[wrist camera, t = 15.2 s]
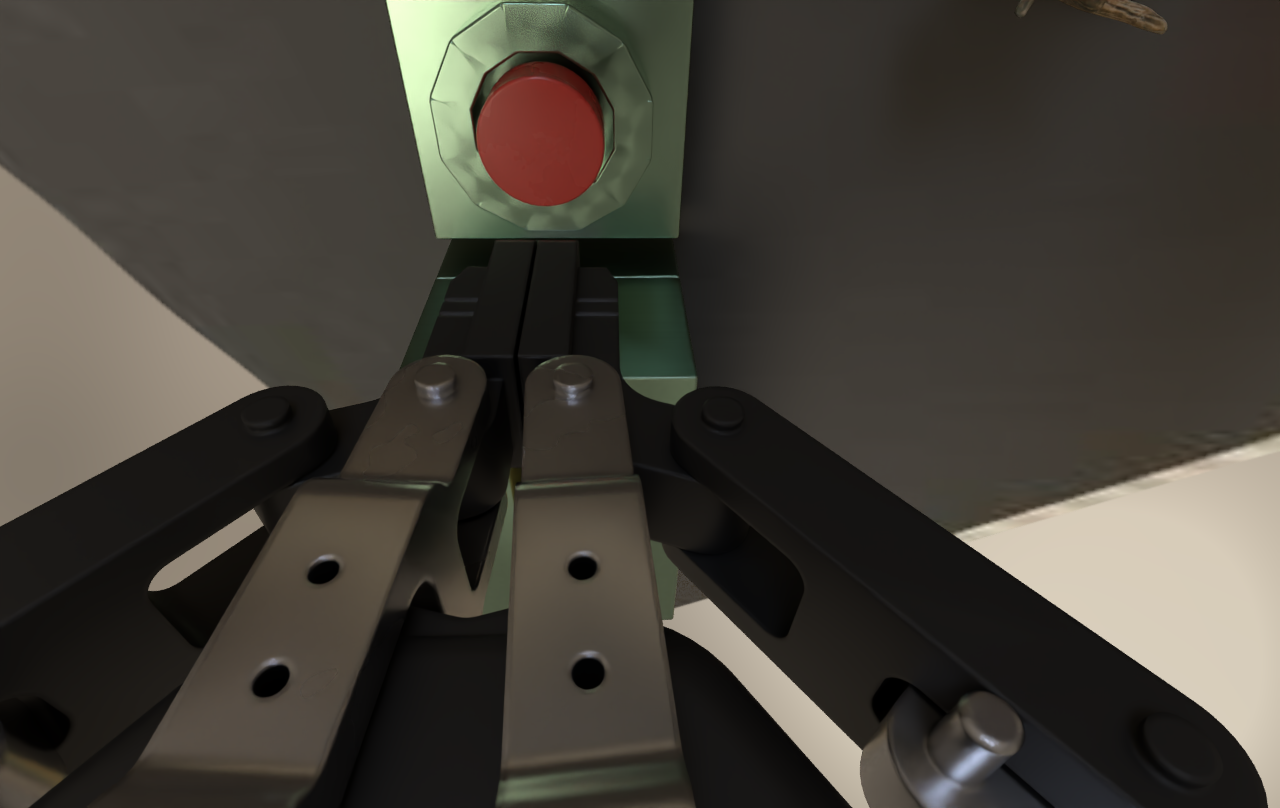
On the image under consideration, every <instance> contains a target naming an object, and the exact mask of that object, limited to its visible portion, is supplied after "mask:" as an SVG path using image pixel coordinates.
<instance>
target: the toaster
mask: <svg viewBox="0 0 1280 808" xmlns="http://www.w3.org/2000/svg"><path fill="white" fill-rule="evenodd" d="M495 240H536V241H537V245H538V241H539V240H578V243H579V260H580V267H606V268H607V269H608V270H609V271H610V273H611V274H612V275H613V276H614V278H615V279H616V280H617V282H618V305H619V350H620V371H621V374H622V377H623V378H624V380H625V382H626V383H627V384H628V385H629V386H630V387H631V388H632V389H634V390H635V391H636V392H638V393H640V394H641V395H643V396H645V397H648V398H650V399H653V400H656V401H660V402H664V403H668V404H673V405H675V404H676V403H677V401H678V400H679V399H680V398H681V397H683V396H684V395H685V394H687V393H689V392H691V391H693V390H696V389H697V380H698V376H697V371H696V365H695V360H694V354H693V349H692V343H691V338H690V332H689V327H688V321H687V316H686V310H685V305H684V299H683V294H682V288H681V283H680V279H679V272H678V266H677V261H676V255H675V250H674V244H673V239H672V238H576V239H452V240H451V243H450V245H449V248H448V250H447V253H446V255H445V258H444V260H443V263H442V265H441V268H440V270H439V273H438V275H437V278H436V280H435V282H434V285H433V287H432V290H431V292H430V295H429V297H428V300H427V302H426V305H425V307H424V310H423V312H422V315H421V317H420V320H419V322H418V325H417V327H416V330H415V332H414V335H413V337H412V340H411V342H410V345H409V347H408V350H407V352H406V355H405V357H404V360H403V362H402V365H401V367H400V369H402V368H403V367H404V366H406V365H408V364H410V363H412V362H414V361H416V360H419V359H422V358H423V355H424V352H425V350H426V347H427V344H428V341H429V339H430V336H431V333H432V330H433V328H434V325H435V322H436V319H437V317H438V316H439V311H440V309H441V306H442V303H443V302H444V298H445V295H446V292H447V289H448V287H449V284H450V281H451V280H452V279H454V278H455V277H456V276H457V275H458V274H459V273H461V272H462V271H463V270H464V269H465V268H466V267H467V266H477V267H487V266H488V263H489V259H490V256H491V253H492V249H493V246H494V242H495ZM521 476H522V467H521V468H511V469H510V475H509V481H508V486H507V490H506V492H507V498H508V507H507V512H506V516H505V520H504V524H503V528H502V532H501V536H500V540H499V544H498V548H497V552H496V556H495V560H494V564H493V568H492V572H491V576H490V580H489V584H488V588H487V592H486V596H485V601H484V606H483V614H482V615H484V614H488V613H492V612H496V611H500V610H504V609H507V608H509V592H510V572H511V551H512V530H513V510H514V493H515V486H516V483H517V482H521ZM650 542H651V549H652V555H653V562H654V569H655V575H656V582H657V589H658V595H659V602H660V608H661V615H662V620H671V619H673V615H674V605H675V595H676V585H677V576H678V568H677V567H676V566H675V565H674V564H673V563H672V562H671V560H670V559H669V558H668V557H667V555H666V554H665V552H664V549H663V547H662V543H659V542H656V541H652V540H650Z"/></svg>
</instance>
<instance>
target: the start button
mask: <svg viewBox="0 0 1280 808" xmlns="http://www.w3.org/2000/svg"><path fill="white" fill-rule="evenodd" d="M476 139H477V147H478V152H479V155H480V158H481V161H482V163H483V165H484V167H485V169H486V171H487V173H488V174H489V176H490V177H491V178H492V180H493V181H494V182H495V183H496V184H497V185H498V186H499V187H500V188H501V189H502V190H503V191H505V192H506V193H507V194H509V195H510V196H512V197H514V198H515V199H517V200H520V201H522V202H524V203H528V204H531V205H536V206H556V205H561V204H564V203H567V202H570V201H572V200H574V199H576V198H577V197H579V196H580V195H582V194H583V193H584V192H585V191H586V190H587V189H588V188H589V187H590V186H591V185H592V184H593V182H594V181H595V179H596V178H597V176H598V174H599V172H600V169H601V166H602V163H603V158H604V149H605V127H604V118H603V113H602V109H601V106H600V103H599V101H598V99H597V97H596V95H595V94H594V92H593V91H592V89H591V88H590V87H589V85H588V84H587V83H586V82H585V81H584V80H583V79H582V78H581V77H580V76H579V75H577V74H576V73H574V72H573V71H572V70H570V69H568V68H566V67H564V66H561V65H559V64H556V63H551V62H545V61H533V62H527V63H523V64H520V65H518V66H515V67H514V68H512V69H510V70H508V71H507V72H506V73H505V74H503V75H502V76H501V77H500V78H499V79H498V81H497V82H496V83H495V85H494V86H493V88H492V90H491V92H490V94H489V96H488V98H487V100H486V102H485V104H484V106H483V108H482V110H481V112H480V115H479V118H478V123H477V131H476Z"/></svg>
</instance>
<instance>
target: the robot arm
mask: <svg viewBox="0 0 1280 808" xmlns="http://www.w3.org/2000/svg"><path fill="white" fill-rule="evenodd" d="M521 467H522V476H521V482H517V483H516V486H515V493H514V510H513V530H512V551H511V572H510V592H509V608H507V609H504V610H500V611H496V612H492V613H488V614H484V615H482V614H483V606H484V601H485V596H486V592H487V588H488V584H489V580H490V576H491V572H492V568H493V564H494V560H495V556H496V552H497V548H498V544H499V540H500V536H501V532H502V528H503V524H504V520H505V516H506V512H507V507H508V498H507V492H506V490H507V486H508V481H509V475H510V469H511V468H521ZM253 508H254V510H255V511H256V513H257V515H258V516H259V518H260V520H261V521H262V523H263V525H264V526H262V527H261V528H259V529H258V530H256V531H255V532H253V533H252V534H250V535H249V536H247V537H246V538H244V539H243V540H241V541H240V542H239V543H237V544H236V545H234V546H233V547H231V548H230V549H228V550H227V551H225V552H224V553H222V554H221V555H219V556H218V557H216V558H215V559H214V560H212V561H210V562H209V563H207V564H206V565H204V566H203V567H201V568H200V569H198V570H197V571H196V572H194V573H193V574H191V575H190V576H188V577H187V578H185V579H184V580H182V581H181V582H179V583H177V584H176V585H174V586H172V587H170V588H167V589H164V590H160V591H148V588H149V585H150V583H151V581H152V579H153V578H154V576H155V575H156V574H157V573H158V572H159V571H160V570H161V569H162V568H163V567H164V566H166V565H167V564H169V563H170V562H172V561H173V560H175V559H176V558H178V557H179V556H181V555H182V554H184V553H185V552H186V551H188V550H190V549H191V548H193V547H195V546H196V545H198V544H199V543H201V542H202V541H204V540H205V539H207V538H208V537H210V536H212V535H213V534H214V533H216V532H218V531H219V530H221V529H222V528H224V527H225V526H227V525H228V524H230V523H232V522H233V521H234V520H236V519H238V518H239V517H241V516H242V515H244V514H245V513H247V512H248V511H250V510H252V509H253ZM650 540H652V541H656V542H659V543H662V547H663V549H664V552H665V554H666V555H667V557H668V558H669V559H670V560H671V562H672V563H673V564H674V565H675V566H676V567H677V568H678V569H679V570H680V571H681V572H682V573H683V574H684V575H685V576H686V577H687V578H688V579H689V580H690V581H691V582H693V583H694V584H695V585H696V586H697V587H698V588H699V589H700V590H701V591H702V592H703V593H704V594H705V595H706V596H707V597H708V598H709V599H710V600H711V601H712V602H713V603H714V604H715V605H716V606H717V607H718V608H719V609H720V610H721V611H722V612H723V613H724V614H725V615H726V616H727V617H728V618H729V619H730V620H731V621H732V622H733V623H734V624H735V625H736V626H737V627H738V628H739V629H740V630H741V631H742V632H743V633H744V634H745V635H746V636H747V637H748V638H749V639H750V640H751V641H752V642H753V643H754V644H755V645H756V646H757V647H758V648H759V649H760V650H761V651H763V652H764V653H765V655H767V656H768V657H769V658H770V660H772V661H773V662H774V663H775V664H776V665H777V666H778V667H779V668H780V669H781V670H782V671H783V672H784V673H785V674H786V675H787V676H788V677H789V678H790V679H791V680H792V681H793V682H794V683H795V684H796V685H797V686H798V687H799V688H800V689H801V690H802V691H803V692H804V693H805V694H806V695H807V696H808V697H809V698H810V699H811V700H812V701H813V702H814V703H815V704H816V705H817V706H818V707H819V708H820V709H821V710H822V711H824V713H825V714H826V715H827V716H828V717H829V718H830V719H831V720H832V721H833V722H834V723H835V724H836V725H837V726H838V727H839V728H840V729H841V730H842V731H843V732H844V733H846V735H847V736H849V738H850V739H851V740H853V741H854V742H855V743H856V744H857V745H858V746H859V747H860V748H861V749H862V750H863V752H862V756H861V761H860V777H861V784H862V787H863V791H864V795H865V798H866V800H867V803H868V805H869V807H870V808H1268V805H1267V797H1266V792H1265V789H1264V786H1263V783H1262V780H1261V778H1260V776H1259V774H1258V772H1257V770H1256V768H1255V766H1254V764H1253V763H1252V761H1251V759H1250V758H1249V756H1248V755H1247V753H1246V751H1245V750H1244V749H1243V748H1242V746H1241V745H1240V744H1239V743H1238V741H1237V740H1236V739H1235V737H1234V736H1232V734H1231V733H1230V732H1229V731H1228V730H1227V729H1226V728H1225V727H1224V726H1223V725H1222V724H1221V723H1220V722H1219V721H1218V720H1217V719H1215V718H1214V717H1213V716H1212V715H1211V714H1210V713H1209V712H1207V711H1206V710H1205V709H1204V708H1202V707H1201V706H1199V705H1198V704H1197V703H1196V702H1194V701H1193V700H1191V699H1190V698H1188V697H1187V696H1185V695H1184V694H1183V693H1181V692H1180V691H1178V690H1177V689H1175V688H1174V687H1172V686H1171V685H1170V684H1168V683H1167V682H1165V681H1164V680H1162V679H1161V678H1159V677H1158V676H1157V675H1155V674H1154V673H1152V672H1151V671H1149V670H1148V669H1146V668H1145V667H1144V666H1142V665H1141V664H1139V663H1138V662H1136V661H1135V660H1133V659H1132V658H1130V657H1129V656H1127V655H1126V654H1125V653H1123V652H1122V651H1120V650H1119V649H1118V648H1116V647H1115V646H1113V645H1112V644H1110V643H1109V642H1107V641H1106V640H1105V639H1103V638H1102V637H1100V636H1099V635H1097V634H1096V633H1094V632H1093V631H1092V630H1090V629H1089V628H1087V627H1086V626H1084V625H1083V624H1081V623H1080V622H1078V621H1077V620H1076V619H1074V618H1073V617H1071V616H1070V615H1068V614H1067V613H1065V612H1064V611H1063V610H1061V609H1060V608H1058V607H1057V606H1055V605H1054V604H1052V603H1051V602H1049V601H1048V600H1047V599H1045V598H1044V597H1042V596H1041V595H1039V594H1038V593H1037V592H1035V591H1034V590H1032V589H1031V588H1029V587H1028V586H1026V585H1025V584H1024V583H1022V582H1021V581H1019V580H1018V579H1016V578H1015V577H1013V576H1012V575H1011V574H1009V573H1008V572H1006V571H1005V570H1003V569H1002V568H1000V567H999V566H997V565H996V564H995V563H993V562H992V561H990V560H989V559H987V558H986V557H985V556H983V555H982V554H980V553H979V552H977V551H976V550H974V549H973V548H972V547H970V546H969V545H967V544H966V543H964V542H963V541H961V540H960V539H959V538H957V537H956V536H954V535H953V534H951V533H950V532H948V531H947V530H946V529H944V528H943V527H941V526H940V525H938V524H937V523H935V522H934V521H933V520H931V519H930V518H928V517H927V516H925V515H924V514H922V513H921V512H920V511H918V510H917V509H915V508H914V507H912V506H911V505H909V504H908V503H906V502H905V501H904V500H902V499H901V498H899V497H898V496H896V495H895V494H893V493H892V492H891V491H889V490H888V489H886V488H885V487H883V486H882V485H880V484H879V483H878V482H876V481H875V480H873V479H872V478H870V477H869V476H867V475H866V474H865V473H863V472H862V471H860V470H859V469H857V468H856V467H854V466H853V465H852V464H850V463H849V462H847V461H846V460H844V459H843V458H841V457H840V456H839V455H837V454H836V453H834V452H833V451H831V450H830V449H828V448H827V447H826V446H824V445H823V444H821V443H820V442H818V441H817V440H815V439H814V438H813V437H811V436H810V435H808V434H807V433H805V432H804V431H802V430H801V429H800V428H798V427H797V426H795V425H794V424H792V423H791V422H789V421H788V420H787V419H785V418H784V417H782V416H781V415H779V414H778V413H776V412H775V411H774V410H772V409H771V408H769V407H768V406H766V405H765V404H763V403H762V402H760V401H759V400H758V399H756V398H755V397H753V396H751V395H749V394H747V393H745V392H743V391H740V390H737V389H733V388H728V387H718V386H717V387H705V388H700V389H696V390H693V391H691V392H689V393H687V394H685V395H684V396H683V397H681V398H680V399H679V400H678V401H677V403H676V404H675V405H673V404H668V403H664V402H660V401H656V400H653V399H650V398H648V397H645V396H643V395H641V394H640V393H638V392H636V391H635V390H634V389H632V388H631V387H630V386H629V385H628V384H627V383H626V382H625V380H624V378H623V377H622V374H621V371H620V350H619V305H618V282H617V280H616V279H615V278H614V276H613V275H612V274H611V273H610V271H609V270H608V269H607V268H606V267H580V260H579V243H578V240H539V241H538V245H537V241H536V240H495V242H494V246H493V249H492V253H491V256H490V259H489V263H488V266H487V267H477V266H467V267H466V268H465V269H464V270H463V271H462V272H461V273H459V274H458V275H457V276H456V277H455V278H454V279H452V280H451V281H450V284H449V287H448V289H447V292H446V295H445V298H444V302H443V303H442V306H441V309H440V311H439V316H438V317H437V319H436V322H435V325H434V328H433V330H432V333H431V336H430V339H429V341H428V344H427V347H426V350H425V352H424V355H423V358H422V359H419V360H416V361H414V362H412V363H410V364H408V365H406V366H404V367H403V368H402V369H400V370H399V371H398V372H397V373H396V374H395V375H394V376H393V377H392V378H391V380H390V381H389V383H388V385H387V387H386V389H385V390H384V392H383V394H382V396H381V398H379V399H376V400H373V401H369V402H366V403H361V404H356V405H352V406H347V407H343V408H338V409H333V410H328V408H327V405H326V403H325V401H324V399H323V398H322V396H321V395H320V394H318V393H317V392H315V391H314V390H312V389H309V388H305V387H300V386H279V387H273V388H268V389H264V390H261V391H258V392H255V393H252V394H250V395H248V396H246V397H244V398H241V399H240V400H238V401H236V402H234V403H232V404H230V405H228V406H226V407H225V408H223V409H221V410H219V411H217V412H215V413H213V414H212V415H209V416H208V417H206V418H204V419H202V420H200V421H198V422H196V423H195V424H193V425H191V426H189V427H187V428H185V429H183V430H181V431H179V432H178V433H176V434H174V435H172V436H170V437H168V438H166V439H165V440H162V441H161V442H159V443H157V444H155V445H153V446H151V447H149V448H147V449H146V450H144V451H142V452H140V453H138V454H136V455H134V456H132V457H131V458H129V459H127V460H125V461H123V462H121V463H119V464H118V465H115V466H114V467H112V468H110V469H108V470H106V471H104V472H102V473H101V474H98V475H97V476H95V477H93V478H91V479H89V480H87V481H85V482H83V483H82V484H80V485H78V486H76V487H74V488H72V489H70V490H68V491H67V492H65V493H63V494H61V495H59V496H57V497H55V498H53V499H51V500H50V501H48V502H46V503H44V504H42V505H40V506H38V507H36V508H35V509H33V510H31V511H29V512H27V513H25V514H23V515H21V516H19V517H18V518H16V519H14V520H12V521H10V522H8V523H6V524H4V525H2V526H1V527H0V808H852V807H851V806H850V805H849V804H848V803H847V801H846V800H845V799H844V798H843V797H842V796H841V795H840V794H839V792H838V791H837V790H836V789H835V788H834V787H833V786H832V785H831V784H830V782H829V781H828V780H827V779H826V778H825V777H824V776H823V774H822V773H821V772H820V771H819V770H818V769H817V768H816V767H815V766H814V764H813V763H812V762H811V761H810V760H809V759H808V758H807V757H806V755H805V754H804V753H803V752H802V751H801V750H800V749H799V747H798V746H797V745H796V744H795V743H794V742H793V741H792V740H791V738H790V737H789V736H788V735H787V734H786V733H785V732H784V731H783V729H782V728H781V727H780V726H779V725H778V724H777V723H776V722H775V721H774V719H773V718H772V717H771V716H770V715H769V714H768V713H767V711H766V710H765V709H764V708H763V707H762V706H761V705H760V704H759V702H758V701H757V700H756V699H755V698H754V697H753V696H752V695H751V694H750V692H749V691H748V690H747V689H746V688H745V687H744V686H743V685H742V683H741V682H740V681H739V680H738V679H737V678H736V677H735V676H734V674H733V673H732V672H731V671H730V670H729V669H728V668H727V667H726V666H725V665H724V664H723V663H722V662H721V661H719V660H718V659H717V658H716V657H715V656H714V655H712V654H711V653H710V652H709V651H708V650H706V649H705V648H703V647H702V646H700V645H699V644H697V643H696V642H694V641H693V640H691V639H690V638H688V637H686V636H684V635H682V634H680V633H678V632H676V631H674V630H672V629H669V628H666V627H664V626H663V622H662V615H661V608H660V602H659V595H658V589H657V582H656V575H655V569H654V562H653V555H652V549H651V542H650Z"/></svg>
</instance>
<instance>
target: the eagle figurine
mask: <svg viewBox="0 0 1280 808" xmlns="http://www.w3.org/2000/svg"><path fill="white" fill-rule="evenodd" d="M1034 1H1035V0H1020V2H1019V3H1018V5H1017V7H1016V10H1015V14H1016V16H1017V17H1019V18H1022V17H1023V16H1025V14H1026V13H1027V12H1028V10H1029V8H1030V7H1031V5H1032V4H1033V2H1034ZM1059 1H1061V2H1063V3H1065V4H1067V5H1070V6H1072V7H1074V8H1076V9H1079V10H1082V11H1085V12H1088V13H1092V14H1096V15H1099V16H1103V17H1107V18H1111V19H1114V20H1118V21H1121V22H1124V23H1127V24H1130V25H1132V26H1135V27H1137V28H1140V29H1143V30H1146V31H1149V32H1153V33H1157V34H1163V33H1165V32H1166V30H1167V23H1166V21H1165V20H1164V19H1163V18H1162V17H1161V16H1159V15H1158V14H1157V13H1155V12H1154V11H1153V10H1152V9H1151V8H1149V7H1147V6H1145V5H1142V4H1139V3H1136V2H1133V1H1130V0H1059Z"/></svg>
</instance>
